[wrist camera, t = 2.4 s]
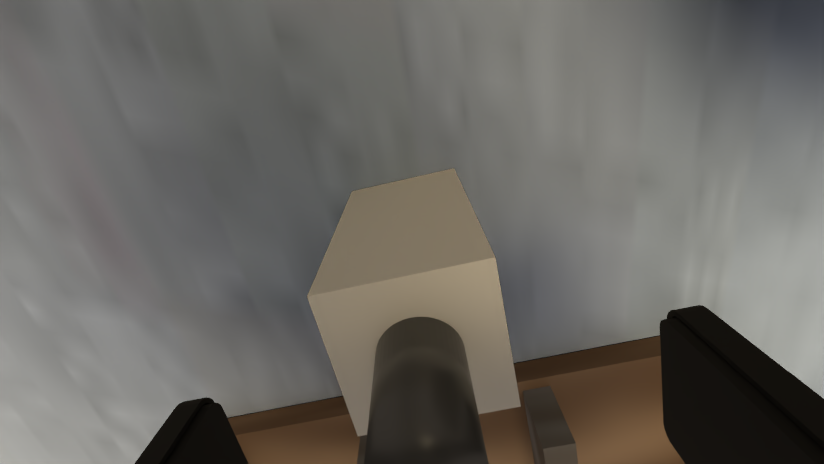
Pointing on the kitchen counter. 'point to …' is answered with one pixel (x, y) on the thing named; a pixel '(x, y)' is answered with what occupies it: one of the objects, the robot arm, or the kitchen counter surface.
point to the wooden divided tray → (508, 417)
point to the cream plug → (415, 321)
